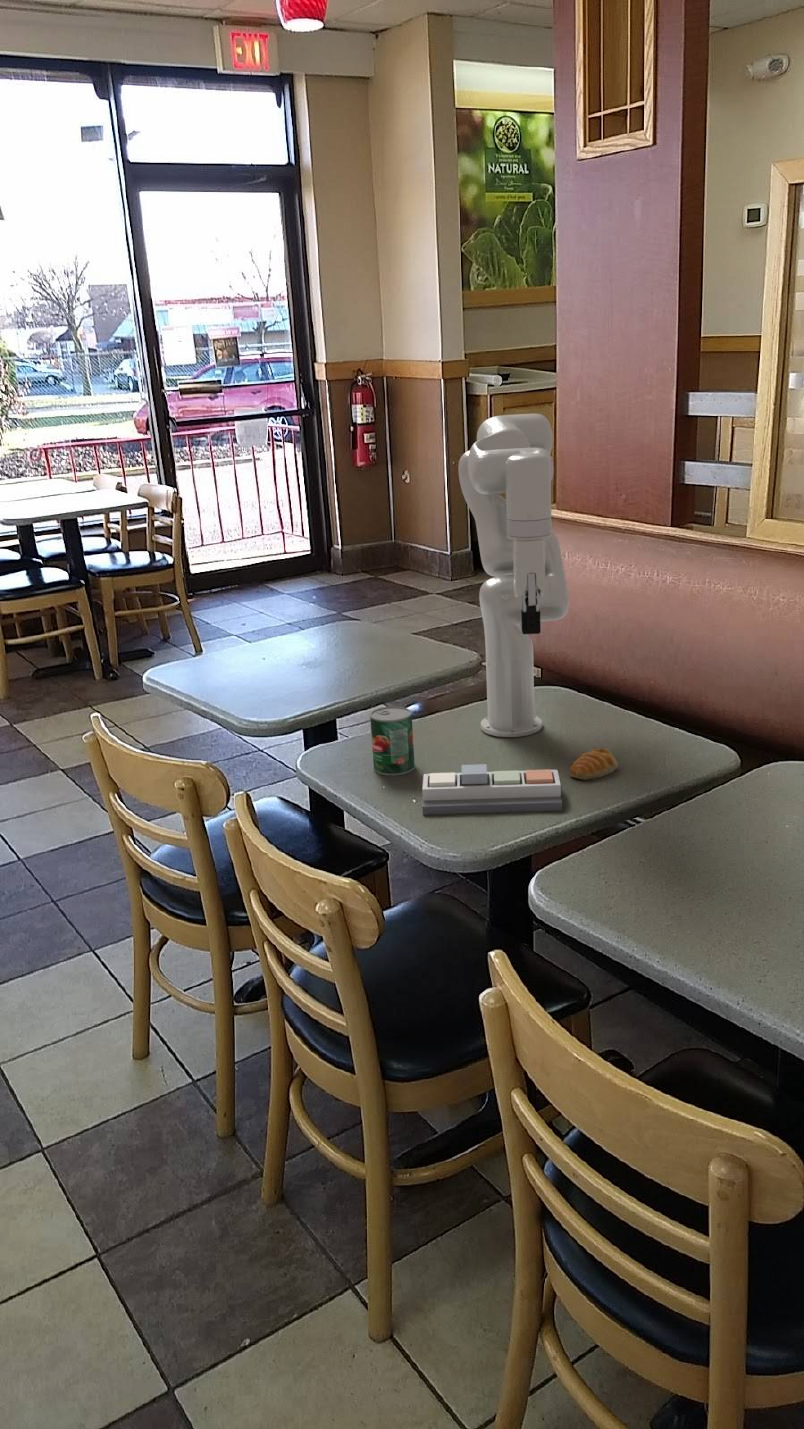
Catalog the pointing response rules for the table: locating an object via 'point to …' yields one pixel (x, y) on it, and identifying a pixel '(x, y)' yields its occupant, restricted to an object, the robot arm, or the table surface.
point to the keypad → (491, 796)
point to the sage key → (506, 777)
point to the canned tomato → (392, 740)
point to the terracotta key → (539, 776)
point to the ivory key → (442, 779)
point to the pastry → (593, 764)
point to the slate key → (474, 774)
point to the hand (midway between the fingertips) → (531, 632)
